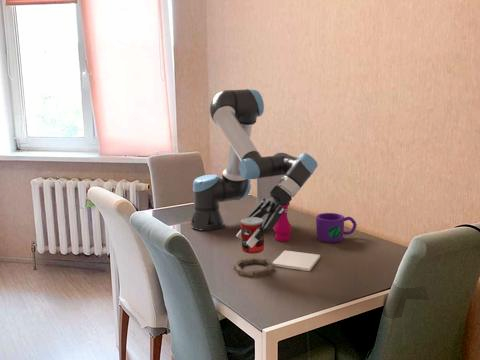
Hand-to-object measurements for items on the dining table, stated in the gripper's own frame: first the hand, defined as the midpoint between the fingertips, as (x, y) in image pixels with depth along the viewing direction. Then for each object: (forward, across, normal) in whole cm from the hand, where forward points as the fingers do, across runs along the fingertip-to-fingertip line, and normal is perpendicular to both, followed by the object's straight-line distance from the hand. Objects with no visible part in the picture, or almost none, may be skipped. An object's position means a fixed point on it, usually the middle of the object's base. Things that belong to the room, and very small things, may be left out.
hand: (243, 241), depth 164 cm
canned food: (0, 0, +5) cm, 5 cm away
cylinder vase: (-15, -42, +31) cm, 54 cm away
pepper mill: (-12, -23, +28) cm, 38 cm away
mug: (-26, -13, +42) cm, 51 cm away
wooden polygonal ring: (+5, 0, +10) cm, 11 cm away
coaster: (-7, +1, +22) cm, 23 cm away
